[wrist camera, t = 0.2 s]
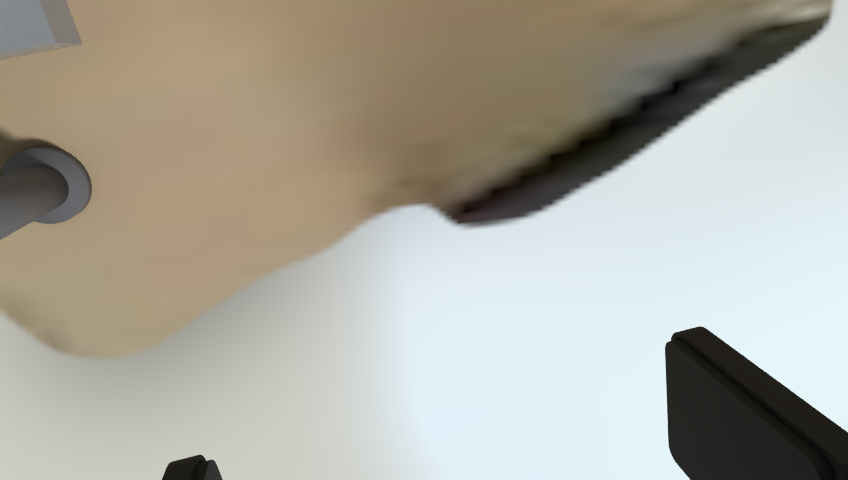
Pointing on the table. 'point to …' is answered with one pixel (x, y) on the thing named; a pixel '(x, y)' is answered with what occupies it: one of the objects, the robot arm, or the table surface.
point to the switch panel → (35, 27)
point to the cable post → (41, 188)
